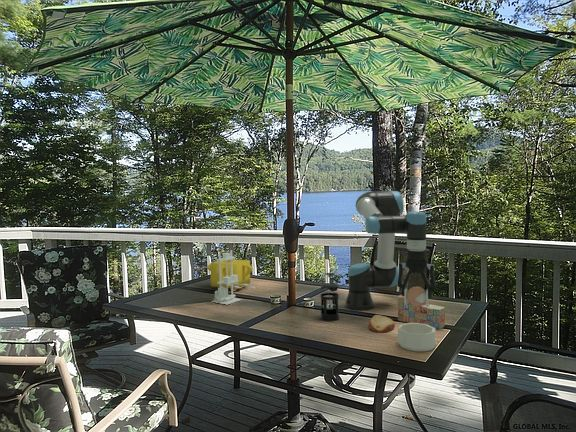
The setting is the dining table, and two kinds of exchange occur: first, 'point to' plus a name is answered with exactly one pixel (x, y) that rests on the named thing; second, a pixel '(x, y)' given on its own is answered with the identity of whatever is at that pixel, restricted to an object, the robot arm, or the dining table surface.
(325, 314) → the french press
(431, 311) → the stack of blocks
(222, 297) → the machine
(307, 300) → the dining table surface
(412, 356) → the dining table surface
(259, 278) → the dining table surface
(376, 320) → the slice of bread
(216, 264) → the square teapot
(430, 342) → the white bowl
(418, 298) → the toy ball
